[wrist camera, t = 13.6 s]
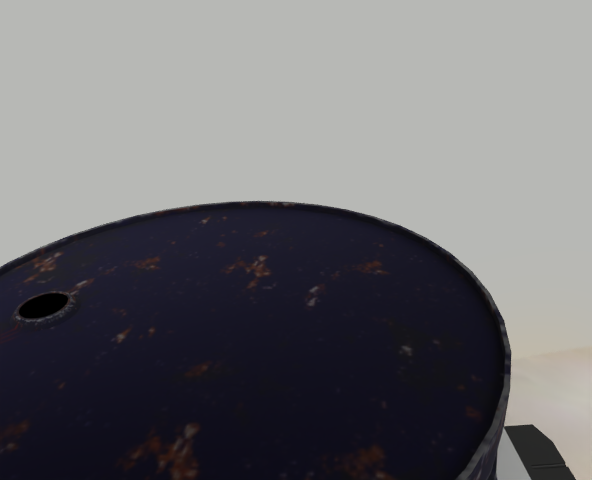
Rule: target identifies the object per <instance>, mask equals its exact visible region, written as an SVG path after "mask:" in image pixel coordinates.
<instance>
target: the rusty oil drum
mask: <svg viewBox="0 0 592 480" xmlns="http://www.w3.org/2000/svg"><path fill="white" fill-rule="evenodd" d="M510 375H511V349H510V344H509V340H508V336H507V332H506V327H505V323H504V320H503V318H502V316H501V314H500V312H499V310H498V308H497V306H496V304H495V302H494V300H493V298H492V296H491V295H490V293H489V292H488V290H487V289H486V288H485V287H484V286H483V285H482V283H481V282H480V281H479V280H478V278H477V277H476V276H475V275H474V273H473V272H472V271H471V270H469V269H468V268H467V267H466V266H465V265H464V264H463V263H461V262H460V261H459V260H458V259H457V258H455V257H454V256H453V255H452V254H451V253H449V252H448V251H446V250H445V249H443V248H442V247H440V246H438V245H437V244H435V243H434V242H432V241H430V240H429V239H427V238H425V237H423V236H421V235H419V234H417V233H415V232H413V231H410V230H408V229H406V228H404V227H402V226H400V225H397V224H394V223H391V222H388V221H385V220H382V219H379V218H377V217H374V216H370V215H365V214H362V213H357V212H354V211H350V210H346V209H340V208H334V207H328V206H322V205H314V204H305V203H294V202H273V201H248V202H247V201H245V202H223V203H212V204H201V205H193V206H186V207H180V208H173V209H166V210H162V211H157V212H152V213H147V214H142V215H137V216H133V217H129V218H126V219H122V220H118V221H114V222H110V223H107V224H103V225H100V226H97V227H94V228H91V229H88V230H85V231H82V232H79V233H76V234H73V235H70V236H68V237H65V238H63V239H60V240H58V241H55V242H52V243H50V244H47V245H45V246H42V247H40V248H38V249H36V250H34V251H32V252H29V253H28V254H25V255H23V256H21V257H19V258H17V259H15V260H13V261H10V262H8V263H7V264H5V265H3V266H1V267H0V480H497V473H496V469H497V451H498V446H499V443H500V439H501V436H502V432H503V427H504V421H505V415H506V409H507V403H508V397H509V391H510Z"/></svg>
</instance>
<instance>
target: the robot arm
mask: <svg viewBox="0 0 592 480" xmlns="http://www.w3.org/2000/svg"><path fill="white" fill-rule="evenodd" d="M496 473H497V480H576V479H575V478H574V476H573V474H572V473H571V471H570V469H569V468H568V467H566V465H565V461H564V460H563V458H562V456H561V455H560V453H559V452H558V450H557V448H556V447H555V445H554V443H553V442H552V441H551V440H550V439H549V438H547V437H546V436H545V435H544V434H543V433H542V432H541V431H539V430H538V429H537V428H536V427H535V426H534V425H518V426H505V427H503V432H502V436H501V439H500V443H499V446H498V451H497V469H496Z"/></svg>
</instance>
